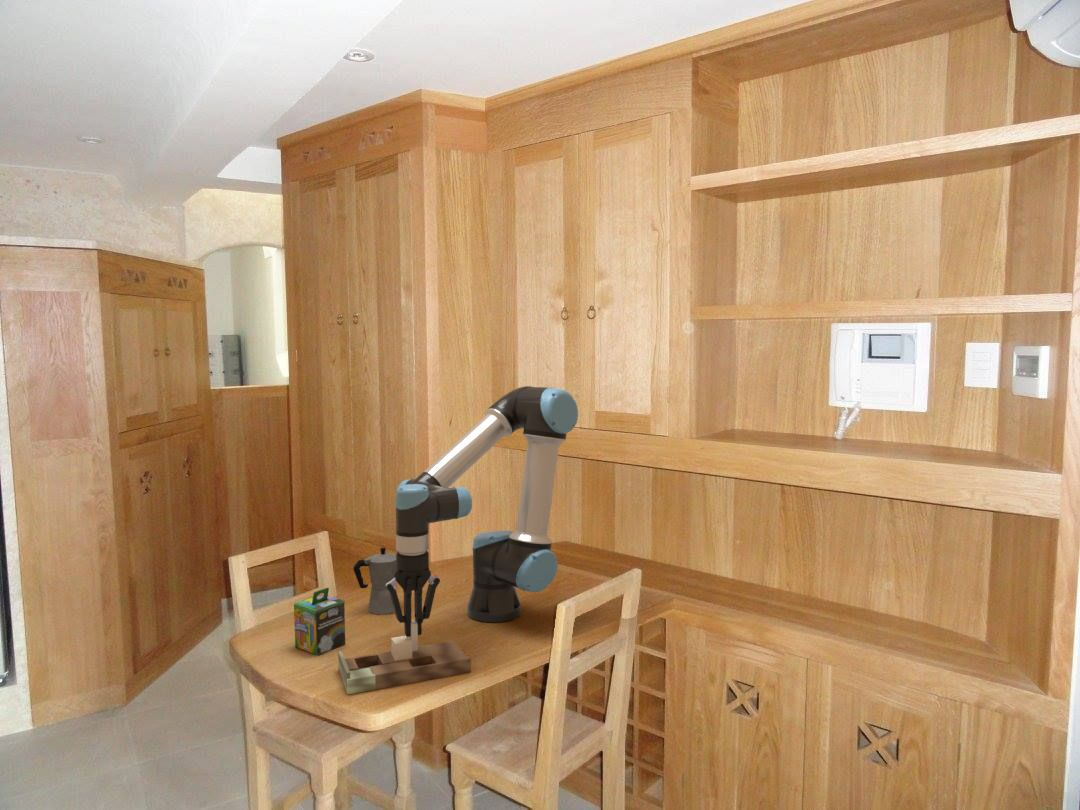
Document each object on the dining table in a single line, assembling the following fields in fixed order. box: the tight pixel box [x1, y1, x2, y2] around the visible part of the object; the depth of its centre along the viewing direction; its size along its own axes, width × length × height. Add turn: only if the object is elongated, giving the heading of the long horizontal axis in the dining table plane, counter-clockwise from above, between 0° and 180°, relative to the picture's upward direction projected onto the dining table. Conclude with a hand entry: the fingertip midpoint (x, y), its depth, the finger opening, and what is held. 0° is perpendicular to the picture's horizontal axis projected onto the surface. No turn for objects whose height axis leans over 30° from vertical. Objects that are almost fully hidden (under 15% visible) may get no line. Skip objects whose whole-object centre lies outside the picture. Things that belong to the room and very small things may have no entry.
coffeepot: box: [353, 547, 398, 616], centre depth 212 cm, size 15×9×18 cm, turn 126°
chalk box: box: [293, 587, 346, 657], centre depth 187 cm, size 9×9×15 cm
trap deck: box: [337, 640, 472, 695], centre depth 173 cm, size 28×13×4 cm, turn 114°
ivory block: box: [390, 635, 412, 661], centre depth 175 cm, size 4×4×4 cm
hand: (413, 648), depth 176 cm, fingers closed
